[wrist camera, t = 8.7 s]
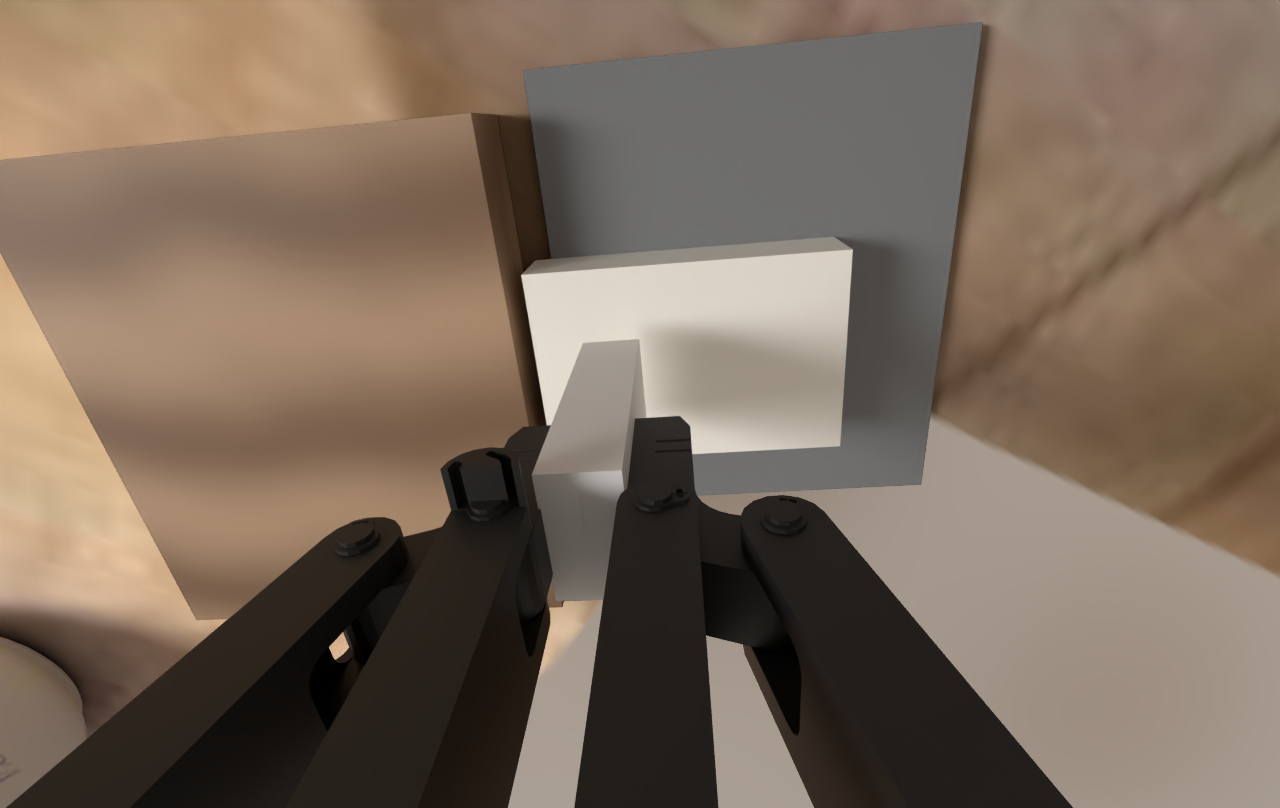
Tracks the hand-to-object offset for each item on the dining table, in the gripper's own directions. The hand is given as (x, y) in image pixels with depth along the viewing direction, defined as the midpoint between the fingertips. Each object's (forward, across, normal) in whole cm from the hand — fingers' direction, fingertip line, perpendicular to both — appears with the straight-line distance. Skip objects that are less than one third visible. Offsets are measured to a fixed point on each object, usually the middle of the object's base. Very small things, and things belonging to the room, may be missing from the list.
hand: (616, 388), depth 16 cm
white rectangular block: (+4, +2, 0) cm, 4 cm away
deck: (+4, -10, -1) cm, 11 cm away
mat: (+4, +4, +1) cm, 6 cm away
